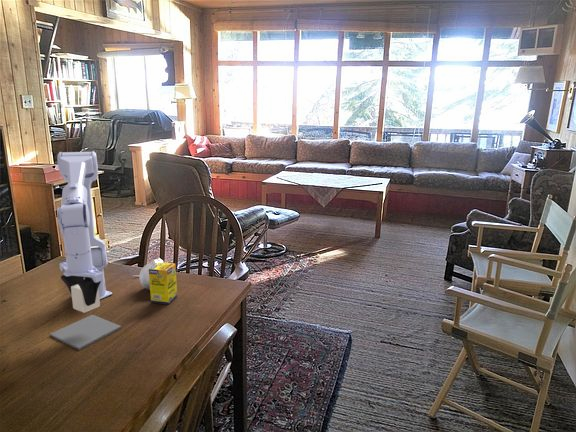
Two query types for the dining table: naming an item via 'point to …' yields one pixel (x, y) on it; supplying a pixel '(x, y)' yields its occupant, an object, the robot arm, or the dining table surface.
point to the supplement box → (163, 282)
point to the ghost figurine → (147, 273)
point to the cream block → (82, 300)
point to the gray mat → (85, 331)
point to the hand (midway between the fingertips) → (84, 301)
